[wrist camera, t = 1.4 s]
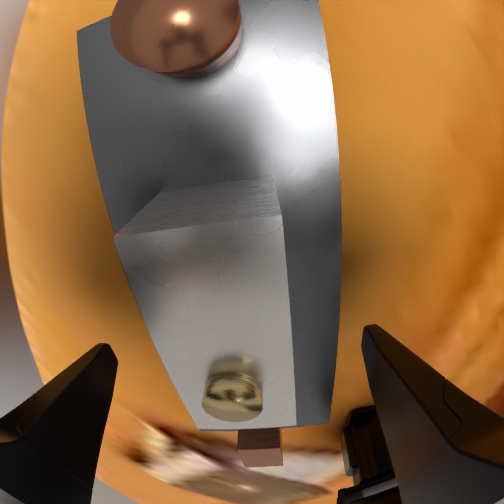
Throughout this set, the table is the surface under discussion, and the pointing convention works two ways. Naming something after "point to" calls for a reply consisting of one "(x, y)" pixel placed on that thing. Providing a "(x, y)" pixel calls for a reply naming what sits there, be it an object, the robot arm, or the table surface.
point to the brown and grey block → (217, 300)
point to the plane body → (229, 146)
